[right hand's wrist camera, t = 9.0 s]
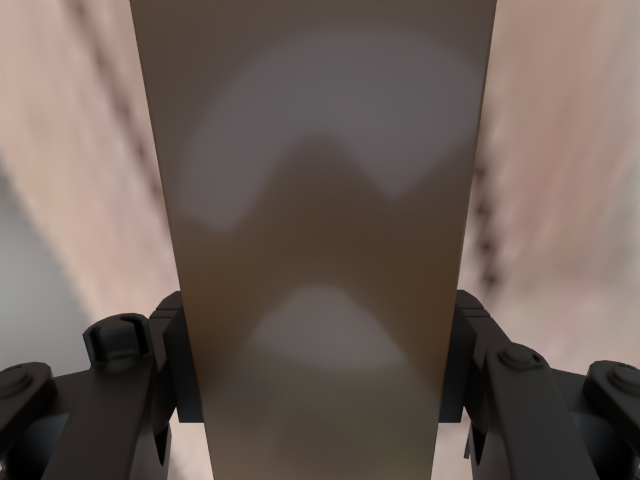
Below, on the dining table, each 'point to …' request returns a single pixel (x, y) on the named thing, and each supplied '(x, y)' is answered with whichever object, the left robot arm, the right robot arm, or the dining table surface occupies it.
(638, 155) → the dining table surface
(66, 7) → the dining table surface
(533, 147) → the dining table surface
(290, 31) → the post
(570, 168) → the dining table surface
